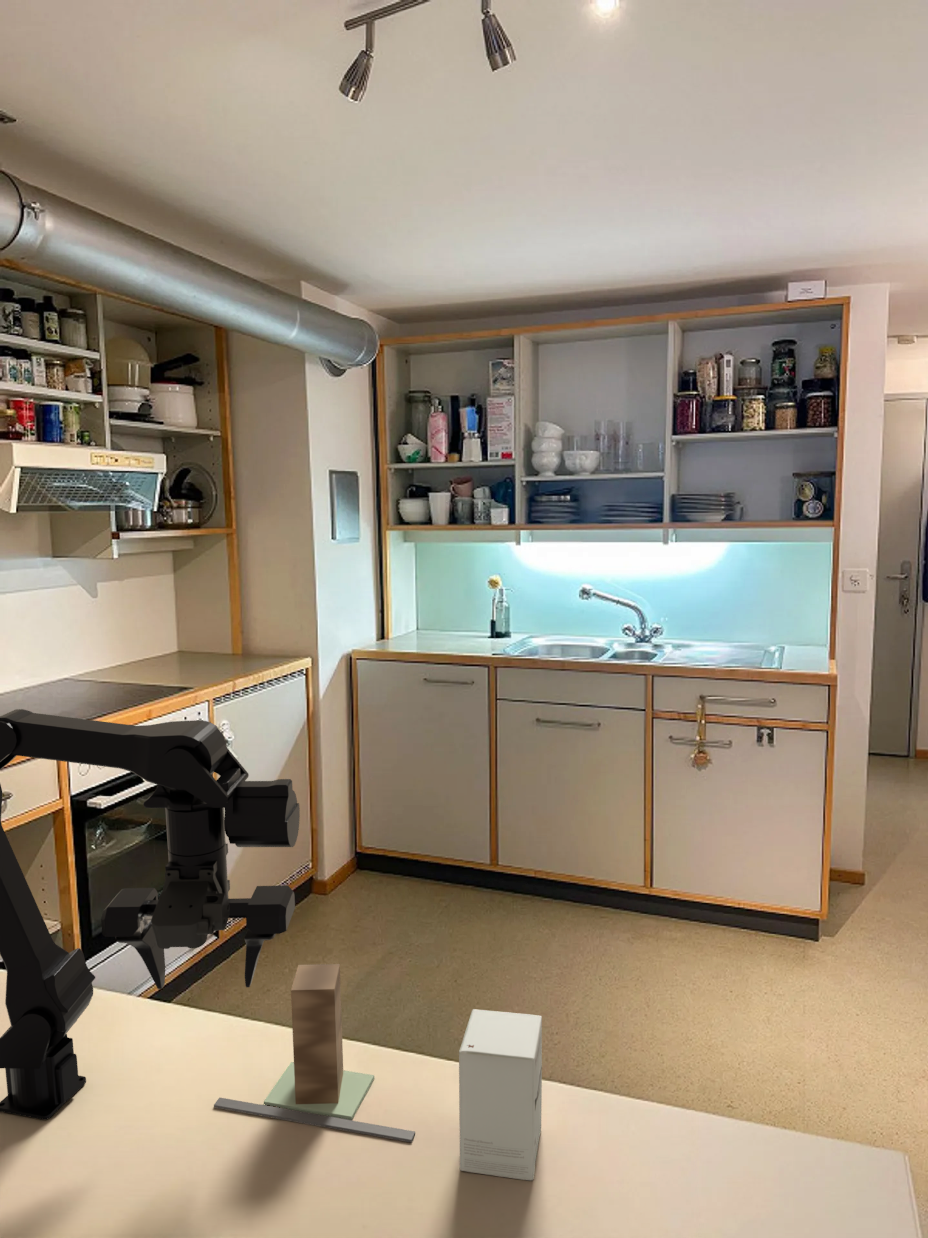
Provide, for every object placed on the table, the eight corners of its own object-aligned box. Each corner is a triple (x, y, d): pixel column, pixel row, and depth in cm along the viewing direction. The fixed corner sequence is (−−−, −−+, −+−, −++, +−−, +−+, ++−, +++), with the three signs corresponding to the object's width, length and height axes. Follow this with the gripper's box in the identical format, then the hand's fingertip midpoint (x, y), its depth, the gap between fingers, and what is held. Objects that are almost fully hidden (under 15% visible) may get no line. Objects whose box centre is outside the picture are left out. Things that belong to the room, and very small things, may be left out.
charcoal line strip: (213, 1107, 94) (213, 1105, 94) (219, 1100, 95) (219, 1097, 95) (411, 1142, 89) (411, 1140, 89) (415, 1134, 90) (415, 1131, 90)
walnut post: (295, 1104, 94) (290, 990, 92) (302, 1074, 99) (298, 965, 97) (338, 1103, 94) (334, 989, 92) (343, 1072, 99) (339, 963, 97)
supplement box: (534, 1183, 83) (534, 1060, 82) (457, 1172, 85) (456, 1050, 83) (543, 1129, 91) (543, 1014, 89) (472, 1119, 92) (471, 1006, 90)
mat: (263, 1105, 94) (263, 1101, 94) (291, 1065, 101) (291, 1062, 101) (351, 1120, 92) (351, 1116, 92) (374, 1078, 99) (374, 1075, 98)
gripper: (73, 881, 83) (85, 1034, 86) (272, 877, 84) (278, 1030, 86) (117, 835, 94) (126, 972, 97) (292, 832, 95) (298, 969, 97)
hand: (205, 986), depth 94 cm, fingers open, 9 cm apart
